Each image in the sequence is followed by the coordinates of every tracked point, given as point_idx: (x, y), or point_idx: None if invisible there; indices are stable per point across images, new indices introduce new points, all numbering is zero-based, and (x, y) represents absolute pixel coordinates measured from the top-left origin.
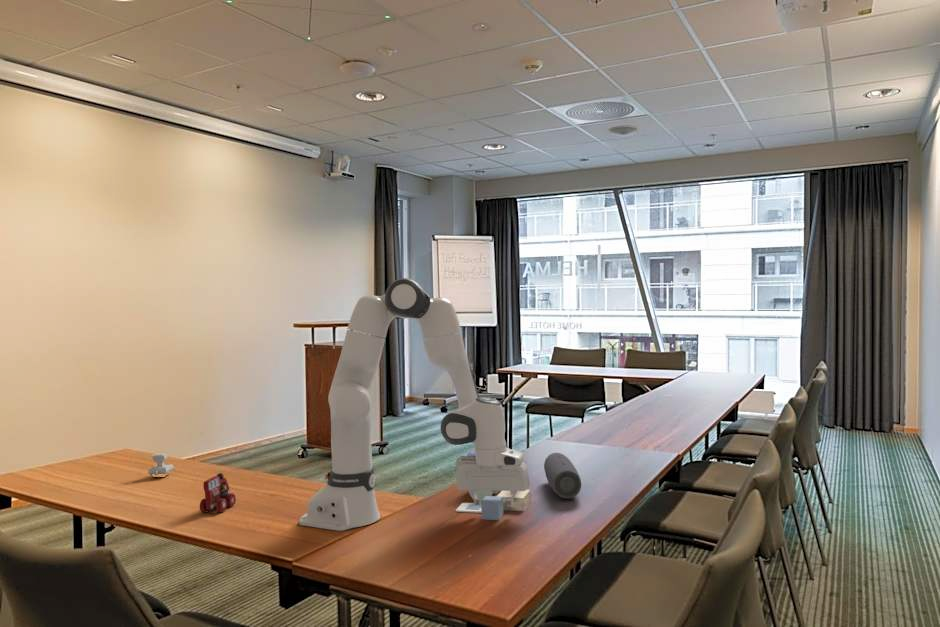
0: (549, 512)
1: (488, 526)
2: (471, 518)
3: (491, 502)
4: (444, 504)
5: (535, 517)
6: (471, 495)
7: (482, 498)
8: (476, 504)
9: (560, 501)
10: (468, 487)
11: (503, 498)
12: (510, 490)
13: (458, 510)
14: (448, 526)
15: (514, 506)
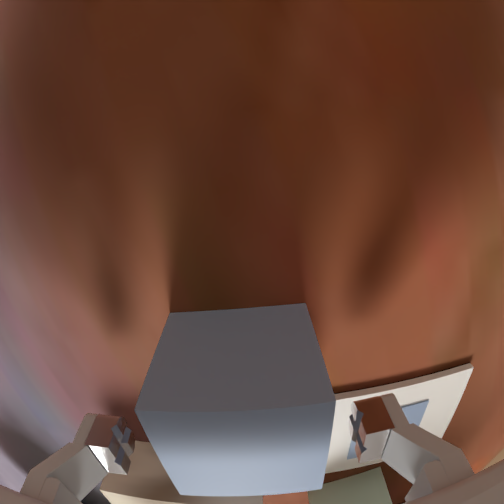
0: (24, 419)
1: (197, 161)
2: (381, 298)
3: (213, 407)
4: (498, 408)
5: (24, 370)
6: (440, 444)
7: (354, 491)
8: (377, 400)
9: None
10: (499, 485)
11: (217, 497)
12: (32, 500)
13: (461, 371)
14: (482, 116)
15: (158, 460)
